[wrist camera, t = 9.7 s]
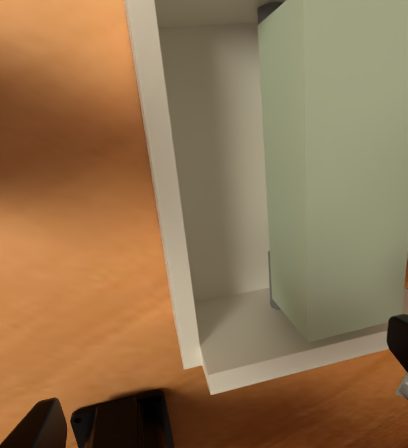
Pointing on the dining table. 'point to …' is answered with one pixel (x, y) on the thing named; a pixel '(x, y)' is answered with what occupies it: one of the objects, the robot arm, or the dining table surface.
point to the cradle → (219, 192)
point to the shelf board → (336, 161)
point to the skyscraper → (403, 387)
